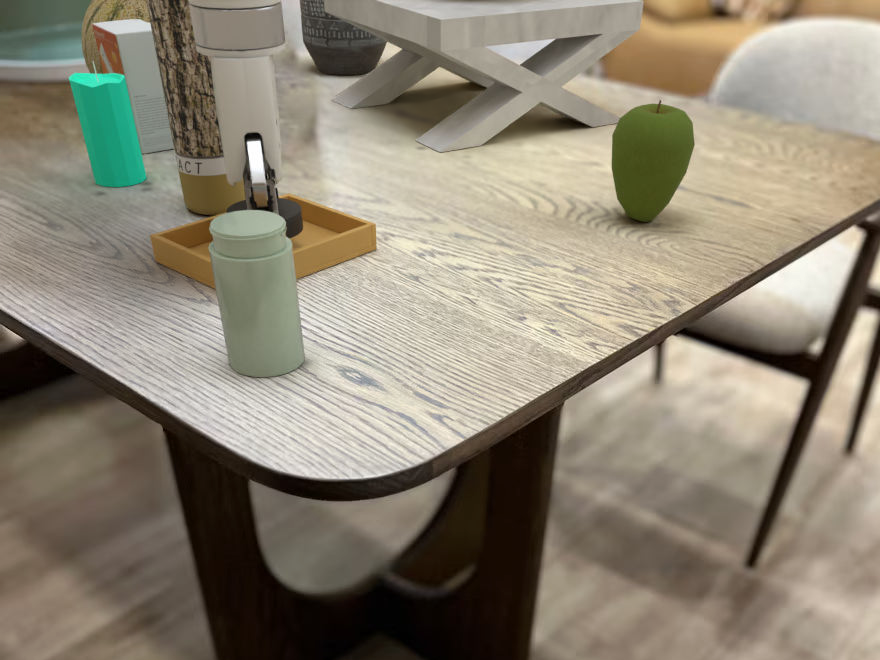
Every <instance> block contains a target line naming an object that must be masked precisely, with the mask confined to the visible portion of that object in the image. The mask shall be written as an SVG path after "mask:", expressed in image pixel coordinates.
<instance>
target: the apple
mask: <svg viewBox="0 0 880 660" xmlns="http://www.w3.org/2000/svg"><path fill="white" fill-rule="evenodd" d="M619 118H620V119H619V121H618V123H616V126H615V128H614V130H613V132H612V135H611V143H612V144H611V172H612V178H613V183H614V189H615V195H616V200H617V201H618V203H619V204H620V206H621V208H622V209H623V211H624V212H625V215H626V216H627V217H628V218H630V219H633V220H636V221H639V222H643V223H648V222H652V221H654V220H655V219H656V218H657V217H658V216H659V215H660V214H661V212H662V211H664V209H666V207H667V206H668V205H669V204H670V202H671V200H672V199H673V197H674V196H675V193H676V192H677V190H678V188H679V186H680V184H681V183H682V181H683V180H684V178H685V176H686V174H687V171H688V169H689V165H690V162H691V158H692V155H693V152H694V149H695V145H696V143H695V133H694V123H693V122H694V121H692V119H691V118H690V117H689V115H688V114H687V113H686V111H685V110H683V109H681V108H678V107H675V106H672V105H668V104H664V103H662V100H661V99H659V102H658V103H647V104H642V105H638V106H635V107H633V108H632V109H630V110H629V111H627V112H626V113H625V114H623V115H622V116H621V117H619Z"/></svg>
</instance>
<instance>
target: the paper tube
mask: <svg viewBox="0 0 880 660" xmlns="http://www.w3.org/2000/svg"><path fill="white" fill-rule="evenodd" d="M146 3H147V8H148V13H149V19H150V24H151V29H152V34H153V40H154V45H155V50H156V56H157V61H158V66H159V71H160V77H161V82H162V87H163V93H164V98H165V103H166V108H167V114H168V119H169V124H170V130H171V135H172V140H173V146H174V149H173V150H174V155H175V161H176V166H177V170H178V177H179V181H180V186H181V191H182V198H183V202H184V204H185V206H186V207H187V209H188V210H190V211H191V212H193V213H195V214H198V215H205V216H215V215H218V214H222V213H225V212H226V211H227V209H228V207H229V206H231V205H232V204H234V203H237V202H240V201H243V200H246V198H245V191H244V189H245V188H244V184H243V183H244V180H243V176H242V180H241V182H236V183H235V186H231V185H230V184H229V183H228V182H227V175H226V168H225V161H224V154H223V148H222V141H221V135H220V129H219V122H218V116H217V109H216V103H215V96H214V88H213V80H212V70H211V58H210V56H206V55H202V54H200V53H198V52H197V51H196V45H195V38H194V32H193V26H192V20H191V14H190V8H189V2H188V0H146Z"/></svg>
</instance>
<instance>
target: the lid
mask: <svg viewBox="0 0 880 660" xmlns="http://www.w3.org/2000/svg"><path fill="white" fill-rule="evenodd" d="M277 205H278V213H279V215H282V218H284V220H285V222H286V227H287V230H286V237H288V238H289V239H290V238H292V237H295V236H297V235H298V234H300V233H301V232H302V230H303V221H302V212H301V206H300V205H299V204H298V203H296V202H294V201H292V200H288V199H283V198H277ZM271 206H272V205H271ZM242 210H247V202H246V200H243V201H240V202H237V203H234V204H232V205H231V206H229V207H228V209H227V211H226V213H229V212H234V211H242ZM253 210H254V209H253Z"/></svg>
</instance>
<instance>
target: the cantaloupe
mask: <svg viewBox="0 0 880 660" xmlns="http://www.w3.org/2000/svg"><path fill="white" fill-rule="evenodd" d="M87 7H88V8H87V9H86V11H85V13H84V17H83V21H82V25H81V40H80V41H81V42H80V43H81V51H82V55H83V58H84V62H85V65H86V67H87V70H88V73H95V70H94V66H93V62H92V61H94V64H95V69H96V73H97V74H103V70H102V65H101V61H100V56H99V52H98V48H97V43H96V39H95V35H94V31H93V27H92V24H93V23H100V22H108V21H117V20H129V19H140V20H143V21H145V22H148V23H150V19H149V13H148V8H147V3H146V0H91V1H90V3H89V4H88V6H87Z"/></svg>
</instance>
